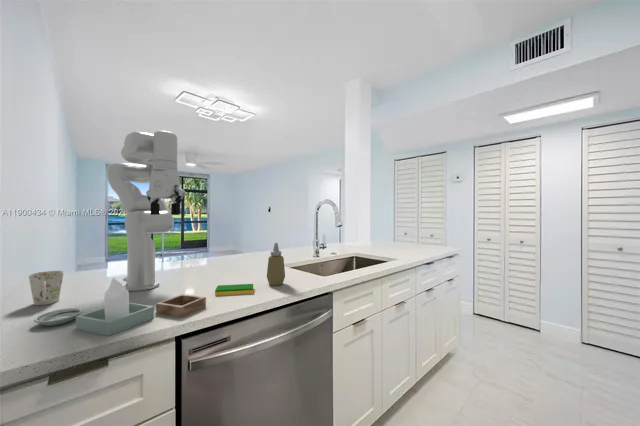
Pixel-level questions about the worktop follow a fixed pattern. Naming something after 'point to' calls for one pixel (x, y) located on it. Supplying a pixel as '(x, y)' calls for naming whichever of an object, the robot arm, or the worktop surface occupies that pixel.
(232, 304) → the worktop surface
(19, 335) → the worktop surface
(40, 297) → the mug
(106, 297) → the white tall block
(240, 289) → the dish sponge
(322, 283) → the worktop surface
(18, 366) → the worktop surface
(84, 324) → the tray
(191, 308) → the shallow wooden box
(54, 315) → the saucer
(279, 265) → the squeeze bottle
